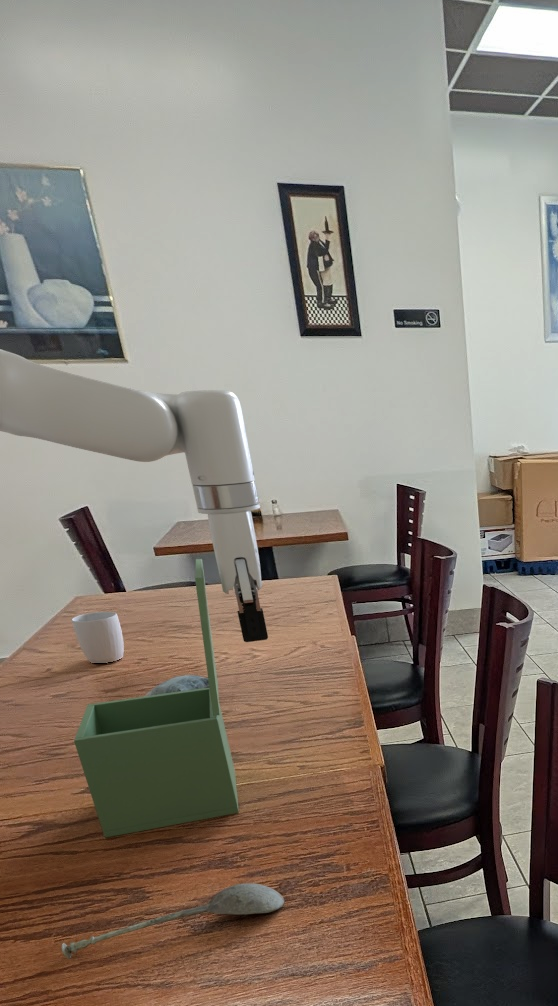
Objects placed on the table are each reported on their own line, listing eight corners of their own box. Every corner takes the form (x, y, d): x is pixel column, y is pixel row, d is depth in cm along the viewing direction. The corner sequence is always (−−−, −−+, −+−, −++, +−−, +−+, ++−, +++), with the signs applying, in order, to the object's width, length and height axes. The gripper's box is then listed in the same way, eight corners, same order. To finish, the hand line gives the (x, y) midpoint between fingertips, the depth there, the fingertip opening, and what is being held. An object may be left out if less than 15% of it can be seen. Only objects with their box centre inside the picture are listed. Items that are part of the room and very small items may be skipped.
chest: (104, 838, 108) (73, 740, 102) (114, 793, 120) (87, 704, 114) (239, 813, 113) (217, 718, 107) (235, 772, 126) (215, 686, 120)
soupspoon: (290, 920, 91) (281, 894, 96) (285, 893, 89) (276, 868, 95) (63, 974, 82) (67, 942, 87) (54, 945, 81) (59, 914, 86)
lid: (194, 577, 100) (202, 577, 100) (195, 558, 112) (202, 558, 112) (213, 715, 107) (219, 715, 107) (212, 683, 119) (217, 683, 120)
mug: (125, 663, 182) (113, 618, 177) (80, 668, 179) (67, 623, 175) (133, 648, 193) (122, 606, 188) (91, 653, 190) (79, 610, 186)
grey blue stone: (141, 711, 152) (135, 686, 150) (185, 691, 162) (180, 667, 160) (180, 716, 150) (174, 690, 148) (222, 695, 160) (217, 670, 158)
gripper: (195, 495, 109) (225, 630, 117) (195, 506, 97) (228, 657, 105) (254, 491, 112) (280, 624, 120) (261, 501, 99) (289, 649, 107)
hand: (255, 639), depth 112 cm, fingers closed
